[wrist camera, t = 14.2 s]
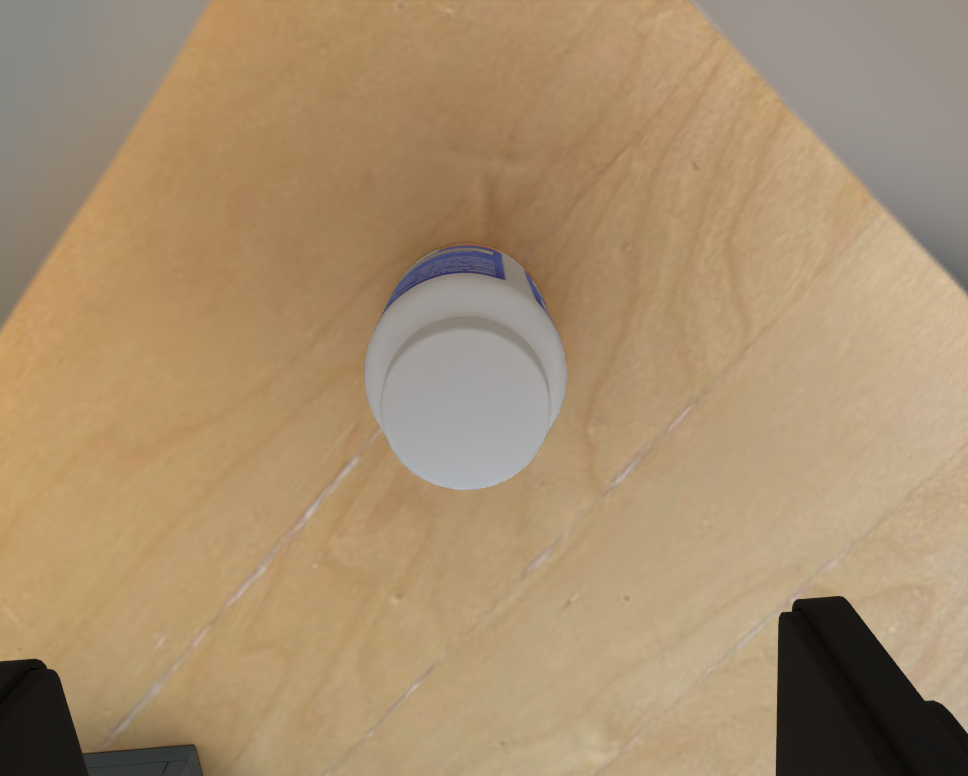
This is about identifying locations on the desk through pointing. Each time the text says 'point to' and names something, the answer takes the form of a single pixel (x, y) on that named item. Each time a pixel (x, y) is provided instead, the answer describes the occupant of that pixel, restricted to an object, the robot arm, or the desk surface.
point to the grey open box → (145, 762)
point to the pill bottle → (465, 368)
